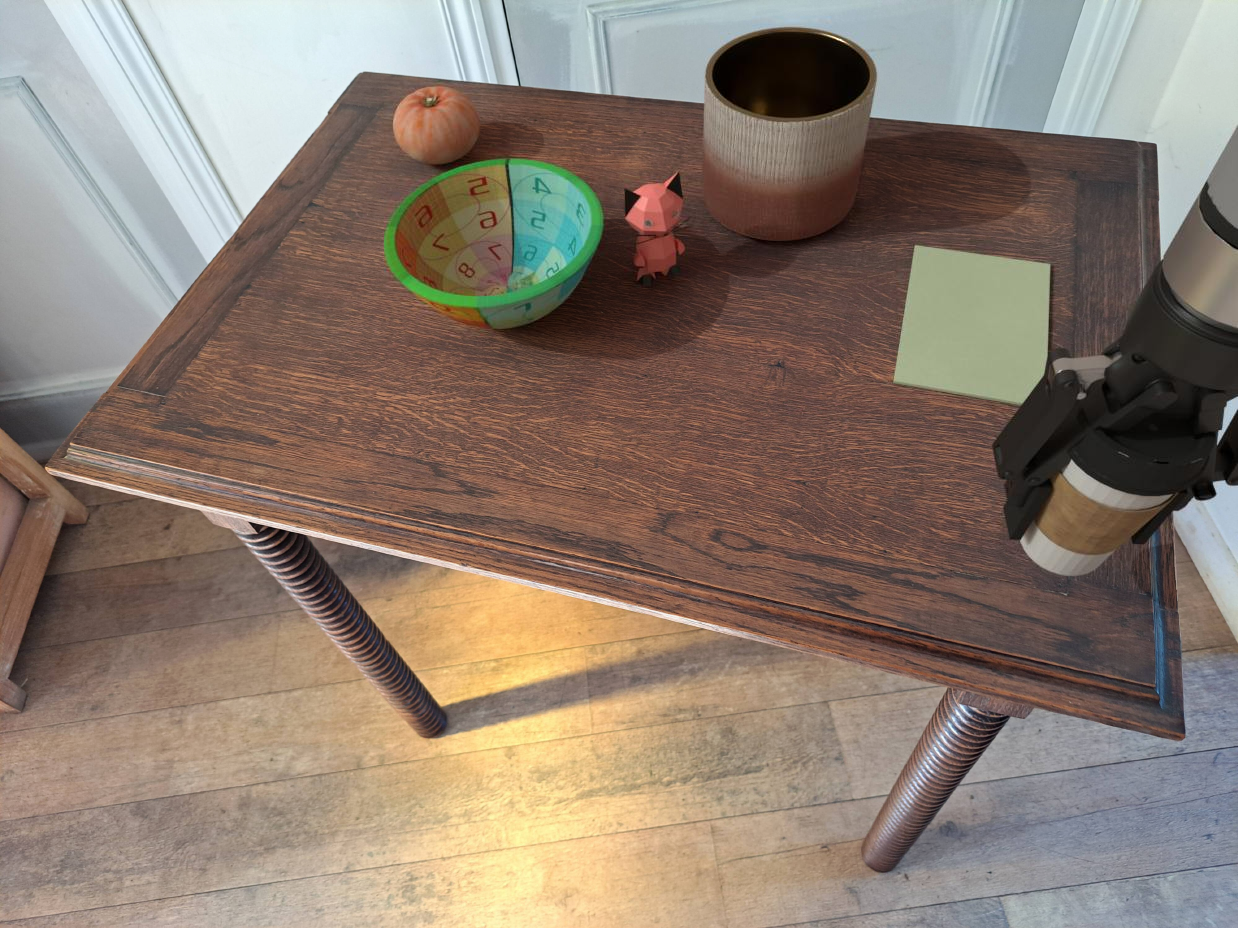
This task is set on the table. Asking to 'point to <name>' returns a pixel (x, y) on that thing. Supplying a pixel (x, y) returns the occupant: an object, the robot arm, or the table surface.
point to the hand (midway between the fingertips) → (1072, 525)
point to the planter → (785, 131)
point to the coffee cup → (1112, 491)
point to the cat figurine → (656, 227)
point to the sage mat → (974, 325)
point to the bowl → (495, 241)
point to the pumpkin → (436, 125)
